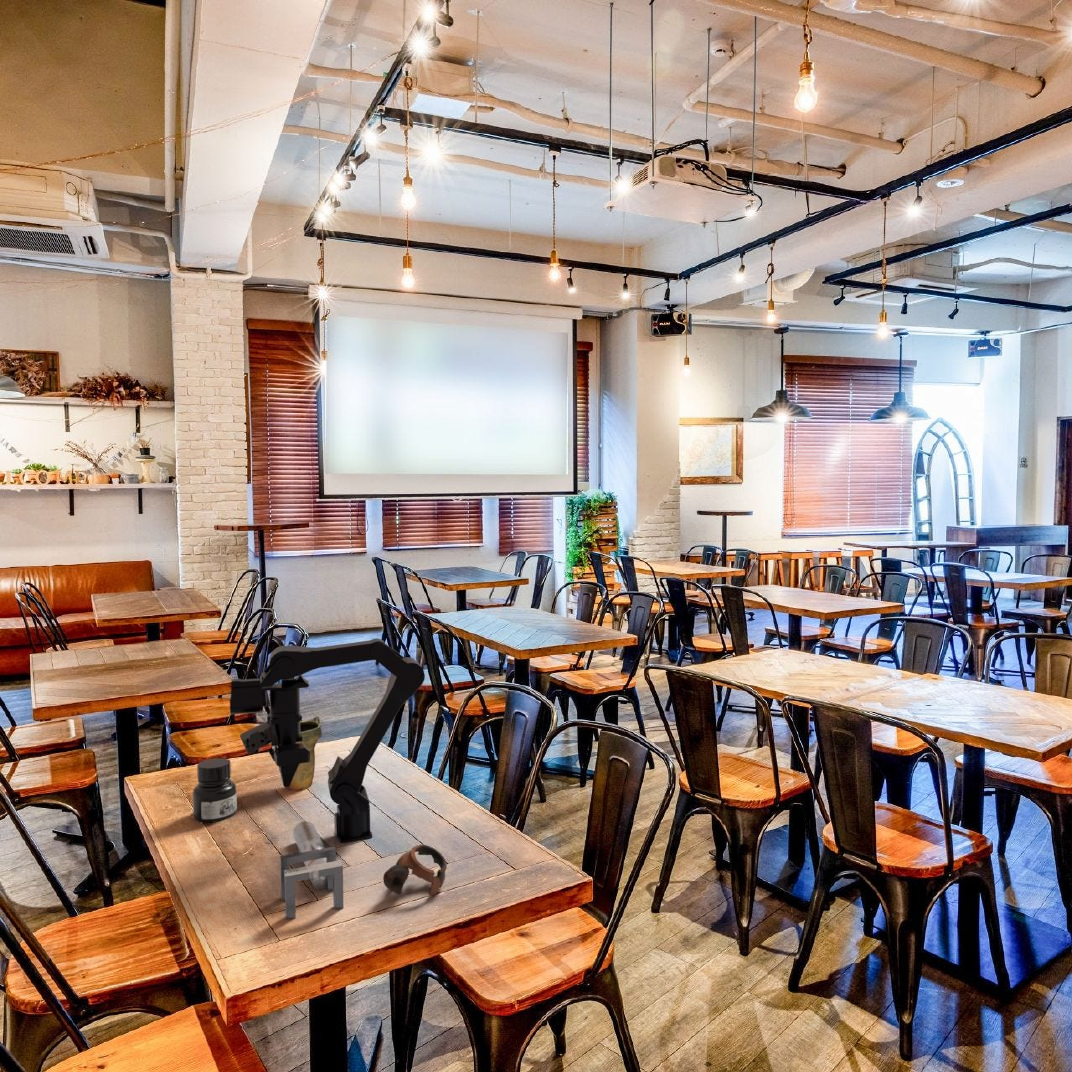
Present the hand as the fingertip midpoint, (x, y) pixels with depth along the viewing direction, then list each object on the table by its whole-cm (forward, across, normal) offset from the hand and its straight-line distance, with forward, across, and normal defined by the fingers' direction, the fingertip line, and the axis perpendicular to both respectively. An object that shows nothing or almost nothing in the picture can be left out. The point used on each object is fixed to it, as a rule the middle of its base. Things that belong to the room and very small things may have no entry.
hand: (286, 786), depth 163 cm
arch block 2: (+12, +30, -1) cm, 32 cm away
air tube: (+11, +11, +1) cm, 16 cm away
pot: (+12, -31, +7) cm, 34 cm away
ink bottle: (+12, -22, -12) cm, 28 cm away
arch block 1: (+12, +23, 0) cm, 26 cm away
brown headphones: (+13, +29, +15) cm, 35 cm away
